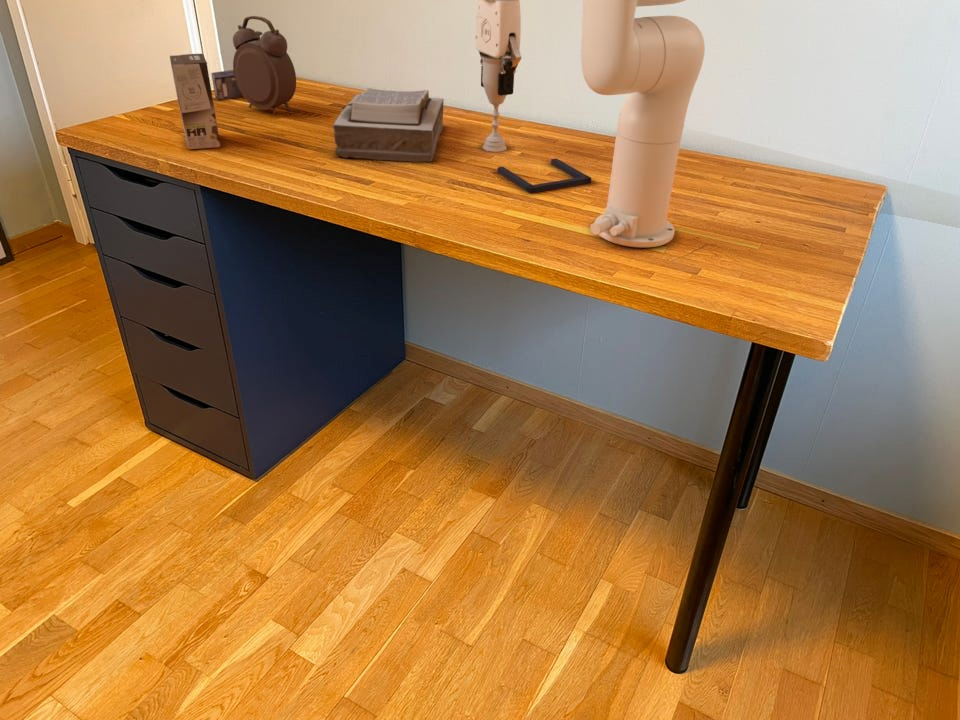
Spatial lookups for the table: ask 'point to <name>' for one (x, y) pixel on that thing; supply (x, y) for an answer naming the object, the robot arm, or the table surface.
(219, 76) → the mini dv tape
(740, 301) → the table surface
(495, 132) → the chalice
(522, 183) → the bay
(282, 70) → the alarm clock
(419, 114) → the bible
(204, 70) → the coffee box
